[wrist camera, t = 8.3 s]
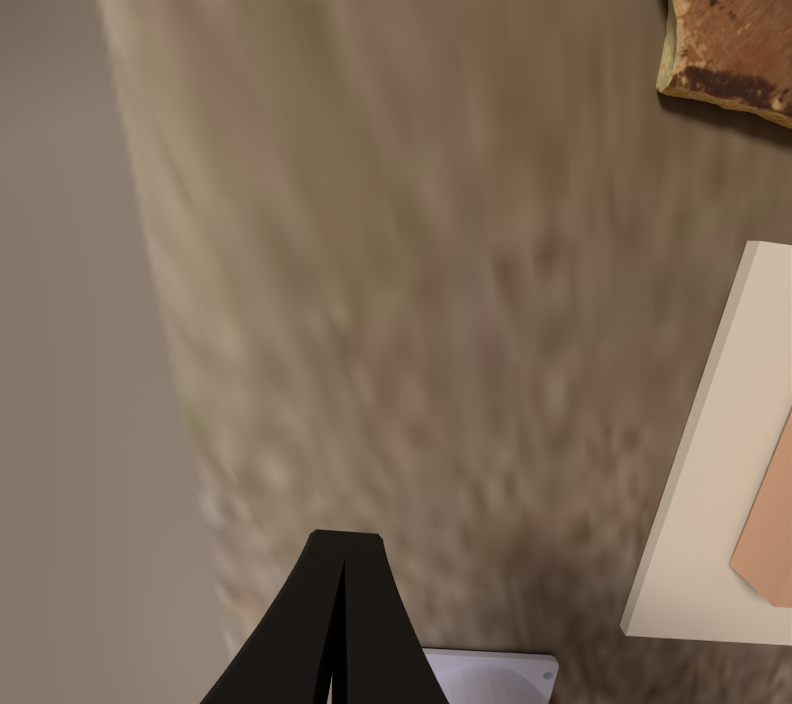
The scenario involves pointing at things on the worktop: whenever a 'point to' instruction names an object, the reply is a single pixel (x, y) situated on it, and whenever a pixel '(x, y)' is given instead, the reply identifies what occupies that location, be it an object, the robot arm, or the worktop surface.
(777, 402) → the cutting board
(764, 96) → the shard
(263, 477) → the worktop surface
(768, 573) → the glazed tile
